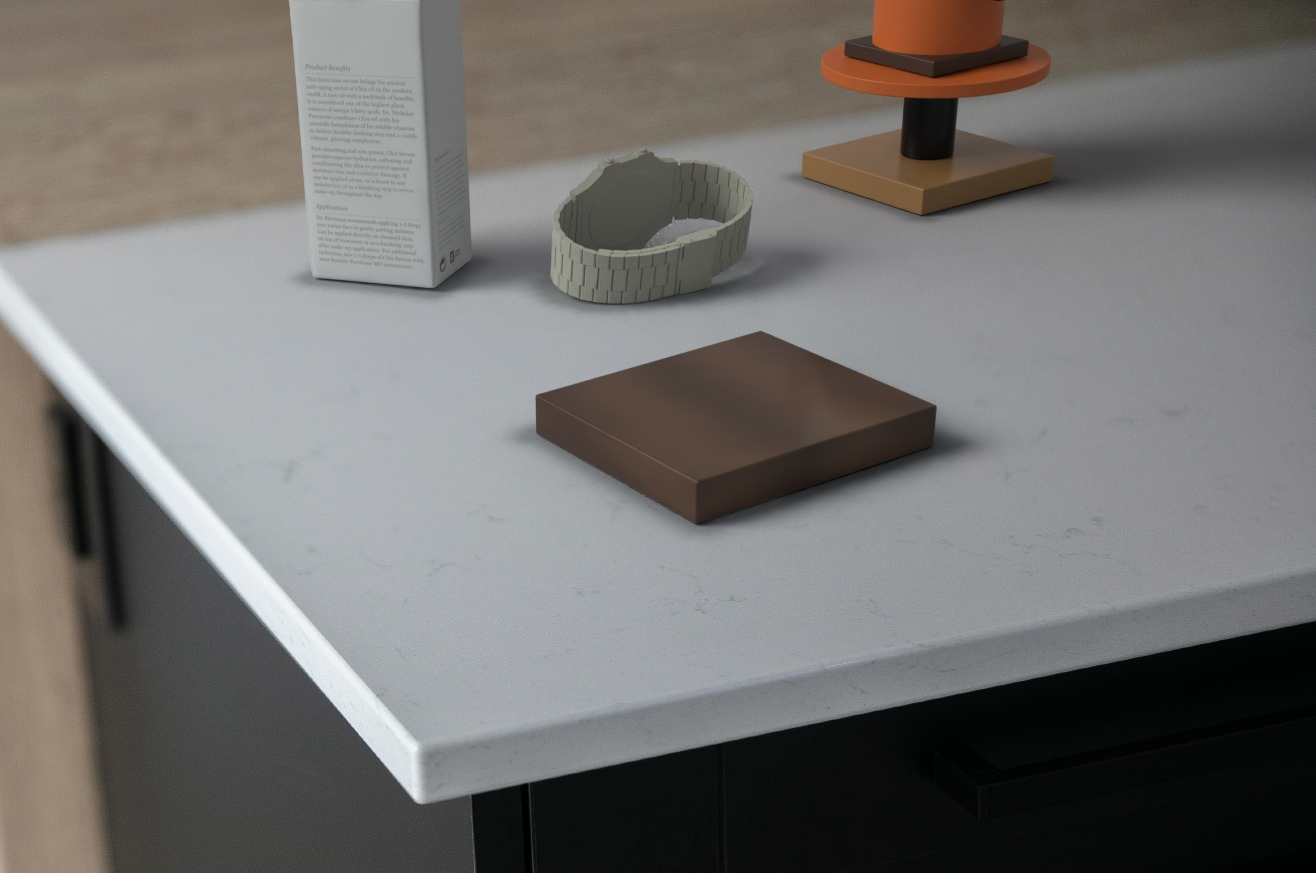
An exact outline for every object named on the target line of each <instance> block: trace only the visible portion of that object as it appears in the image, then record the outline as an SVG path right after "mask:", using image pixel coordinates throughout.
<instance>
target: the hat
mask: <svg viewBox="0 0 1316 873" xmlns="http://www.w3.org/2000/svg"><path fill="white" fill-rule="evenodd" d="M1005 5H1006V0H1003V1H994V0H874V5H873V22H872V34H870V35H865V36H861V37H857V38H852V39H848V40H845V42H844V43H841V44H839V45H837V46H834V47H832V48H829V50H827V51H825V52H824V53H823V55H822V56H821V58H820V60H821V61H820V74H821V76H822V78H824V79H825V80H826V81H827V82H828V83H831V84H833V85H835V86H838V87H840V88H842V89H843V88H844V89H846V90H850V91H854V92H858V93H863V94H870V95H875V96H884V97H893V98H903V99H904V98H930V99H932V98H959V99H964V98H965V99H966V98H977V97H985V96H992V95H998V94H999V95H1000V94H1006V93H1009V92H1010V93H1011V92H1015V91H1019V90H1022V89H1026V88H1028V87H1032V86H1034V85H1037V84H1039V83H1040V82H1042V81H1043V80H1045V79H1046V78H1047V77H1048V76H1049V75H1050V70H1051V62H1052V57H1051V55H1050V53H1049V52H1048V51H1047V50H1045V49H1043V48H1042V47H1040V46H1037V45H1035V44H1033V43H1030V41H1029V40H1028V39H1023V38H1018V37H1014V36H1009V35H1004V34H1003V25H1004V16H1005V15H1004V14H1005Z"/></svg>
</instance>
